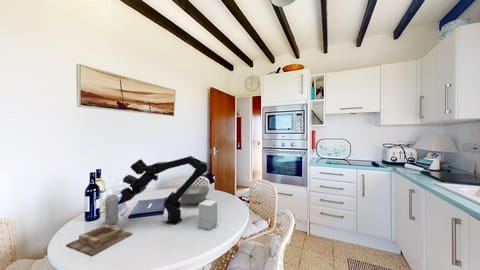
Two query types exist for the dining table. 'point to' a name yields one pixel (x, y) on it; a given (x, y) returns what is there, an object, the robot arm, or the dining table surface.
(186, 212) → the dining table surface
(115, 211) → the energy drink can
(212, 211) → the supplement box
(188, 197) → the ceramic bowl
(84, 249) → the socket board
